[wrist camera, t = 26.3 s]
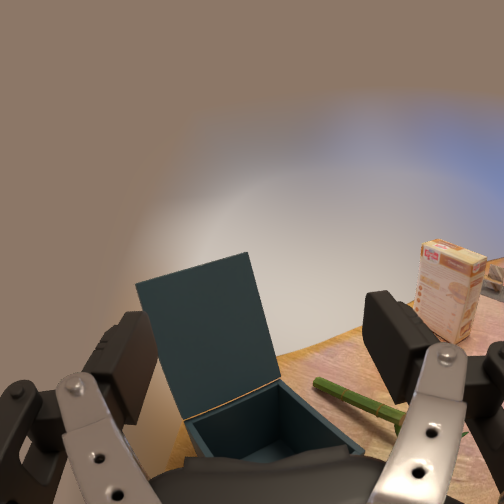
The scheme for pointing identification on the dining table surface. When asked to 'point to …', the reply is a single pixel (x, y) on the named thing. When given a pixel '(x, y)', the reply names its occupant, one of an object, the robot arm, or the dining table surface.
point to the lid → (210, 333)
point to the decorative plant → (363, 403)
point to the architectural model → (494, 283)
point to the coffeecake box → (448, 288)
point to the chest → (265, 427)
